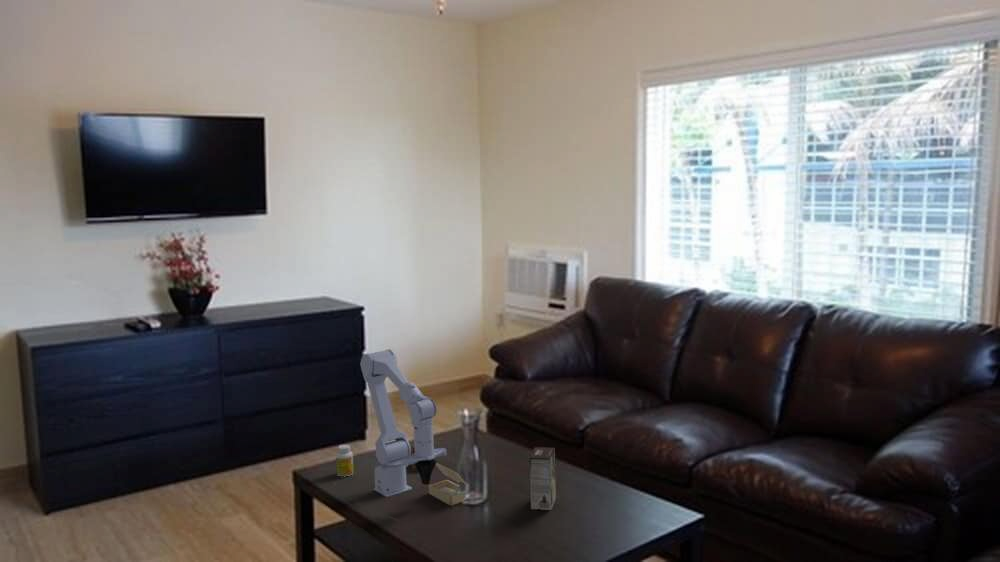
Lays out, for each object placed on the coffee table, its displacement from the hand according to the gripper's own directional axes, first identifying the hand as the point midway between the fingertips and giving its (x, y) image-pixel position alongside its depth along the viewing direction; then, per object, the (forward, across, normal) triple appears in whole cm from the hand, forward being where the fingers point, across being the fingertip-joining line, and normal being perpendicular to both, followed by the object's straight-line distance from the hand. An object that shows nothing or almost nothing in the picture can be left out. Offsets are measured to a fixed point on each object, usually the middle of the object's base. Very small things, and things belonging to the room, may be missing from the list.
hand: (425, 483), depth 236 cm
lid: (0, +9, 0) cm, 9 cm away
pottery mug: (+7, +16, +30) cm, 35 cm away
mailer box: (+7, +8, 0) cm, 11 cm away
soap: (+6, +8, 0) cm, 10 cm away
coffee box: (+7, +27, -22) cm, 36 cm away
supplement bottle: (+7, -7, +39) cm, 40 cm away
